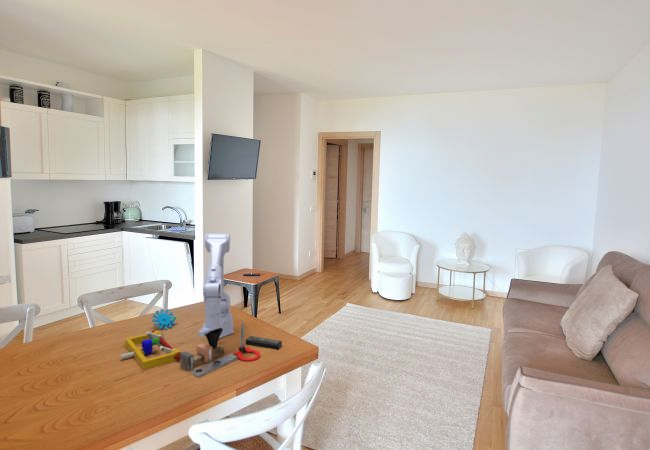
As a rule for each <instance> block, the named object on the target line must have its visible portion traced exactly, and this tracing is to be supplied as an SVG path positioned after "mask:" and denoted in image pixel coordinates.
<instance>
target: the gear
mask: <svg viewBox="0 0 650 450" xmlns="http://www.w3.org/2000/svg"><path fill="white" fill-rule="evenodd" d="M164 311H165V312H164ZM159 312H160V313H159ZM173 315H174V312H171V311H170V310H169V309H166V310H165V309H164V308H160V310H159V309H157V310H156V311H155V313H153V315H152V317H153V318H152V320H151V322H153V323H154V322H155V323H154V324H153V325H154V327H157V326H158V329H159V330H162V328H163V330H164V331H165V330H168V328H169V329H171V328H173V325H174V324H176V321H175V320H177V318H178V315H175V316H173ZM163 326H164V327H163Z"/></svg>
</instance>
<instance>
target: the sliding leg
mask: <svg viewBox="0 0 650 450" xmlns="http://www.w3.org/2000/svg"><path fill="white" fill-rule="evenodd" d="M197 354H202V355H204V363H203V364H208V363H211V362H212V361H213V359H212V346H209V344H207V343H205V342H203V343H200V344H198V345H196V355H197Z"/></svg>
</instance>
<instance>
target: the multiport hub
mask: <svg viewBox="0 0 650 450" xmlns="http://www.w3.org/2000/svg"><path fill="white" fill-rule="evenodd" d="M245 345H247V346H253V347H258V348H264V349H269V348H270V349H271V350H275V349H276V351H278V350H280V348H282V346H283V342H282V340H276V339H272V338H271V339H270V338H265V337H258V336H251V335H250V336H249V337H247V338H246V339H245ZM270 349H269V350H270Z"/></svg>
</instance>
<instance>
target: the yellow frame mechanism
mask: <svg viewBox="0 0 650 450" xmlns="http://www.w3.org/2000/svg"><path fill="white" fill-rule="evenodd" d="M124 343H125V347H126V348H127V349H128V351H129V352H126V353H122V354H120V360H123V359H126V358H130V357H131V358H132V357H133V358H134V359H135V360H136V362H137V363H138V364H139V365H140V367H141V368H142V369H143V371H145V370H149V369H152V368H155V367H160V366H163V365H166V364H167V365H168V364H170V363H174V362H178V361H180V353H182V351H181V350H179V349H178V348H173V347H172V346H171V345H170V344H169V343H168V342H167V341H166V340H165V338H164V334H163V333H162V332H161V331H160V330H155V329H152V330H151V332H150V331H146V332H145V333H144V334H140V335H136V336H132V337H131V336H130V337H126V338H125V342H124ZM140 344H141V346H139V347H137V345H140ZM161 344H162V345H161ZM154 346H157V347H158V348H159V351H160V352H162V353H165V354H162V355H159V356H158V355H157V356H154V357H151V358H147V357H146V355H150V354H152V353H153V347H154Z"/></svg>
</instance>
